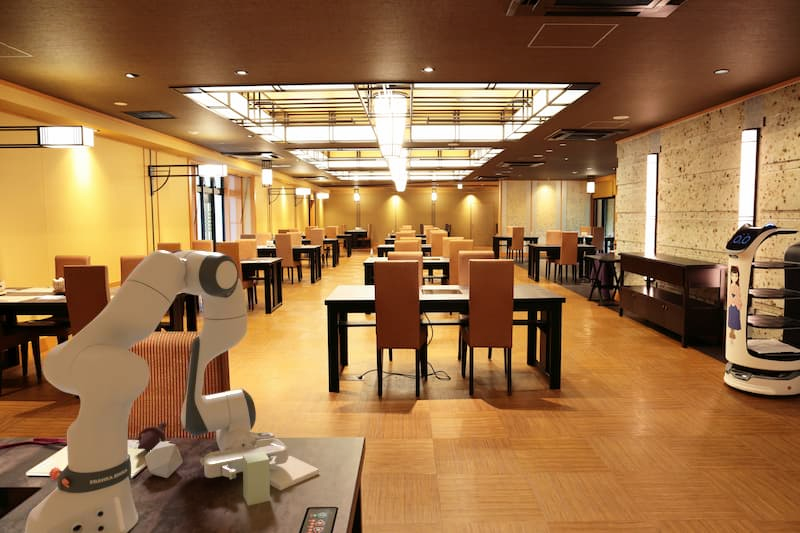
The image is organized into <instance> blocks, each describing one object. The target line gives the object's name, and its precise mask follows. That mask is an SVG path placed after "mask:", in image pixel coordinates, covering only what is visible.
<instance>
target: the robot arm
mask: <svg viewBox="0 0 800 533" xmlns="http://www.w3.org/2000/svg"><path fill="white" fill-rule="evenodd" d="M179 293H185V294H189V295H193V296H200V297H201V299H202V305H203V306H202V308H203V309H202V311H203V312H202V313H203V315H202V316H203V324H202V328H201V330H200V332H199V334H198V335H197V336H196V337H194V338H193V340H192V342H191V345H190V349H189V354H188V355H189V356H188V361H187V362H188V364H187V373H186V382H185V390H184V391H185V392H184V398H183V403H182V408H181V412H180V421H181V422H180V423H181V425H182V429H183V431H184V432H186V433H187V434H189V435H191V436H194V437H201V436H203V435H206V434H209V433H211V432H215V439H216V443H217V447H218V448H219V450H216V451H212V452H209V453H207V454H205V455H204V457H201V458H200V459H199V462H200V465H201V466H203V468H204V475H205V478H208V479H213V478H217V477H219V478H220V477H222V476H223V477H226V478H229V479H228V480H232V479H233V480H234V479H237V474H238V473H243V455H246V454H251V453H256V452H262V451H264V452H265V453H266V455H267V456H268V458H269V465H270V471H273V470H276V465H278V464H283V463H286V462H287V461H288V456H289V450H288V446H287V445H285V443H284V442H283V441H282V440H280V439H279V438H275V436H276V435H275V434H274V433H272V432H252V429H253V428H254V426H255V424H256V421H257V420H256V419H257V418H256V417H257V413H256V405H255V402H254V400H253V398H252V396H251V395H250V394H249V393H248V391H246V390H245V389H243V388H238V389H230V390H227V391H226V390H225V391H223V392H217V393H212V394H206V395H203V389H204V388H203V387H204V381H205V380H204V379H205V370H206V367H207V365H208V364H209V363H210V362H211V361H212V360H214V358H216V357H218V356H220V355H221V354H223V353H225V352H227V351H229V350H230V349H232V348H234V347H236V346H237V345H238V344H240V342H241V341H242V340H243V339H244V337H245V336H246V334H247V331H248V310H247V300H246V295H245V292H244V287H243V283H242V281H241V278H240V273H239V268H238V265H237V263H236V261H235V260H234V259H233V258H232V257H231V256H230V255H228V254H225V253H222V252H211V251H204V250H201V249H200V250H199V249H198V250H197V249H191V250H189V249H188V250H182V249H181V250H180V249H178V250H174V251H168V250H162V249H158V250H155V251H152V252H151V253H149V254H148V255H147V256H146V257H144V258H143V259H142V260H141V261H140V262H139V263H138V264H137V265H136V266H135V268H133V270H132V271H131V272H130V273H129V275H128V276H127V277H126V279H125V280H124V282H122V284H121V286H120V287H119V288H118V290H117V291H116V292H115V294H114V295H113V297H112V298H111V300H109V302H108V303H107V304H106V306H105V307H104V308H103V310H101V312H100V313H99V314H98V315H96V317H95V318H93V320H91V321H90V322H89V323H88V324H87V325H85V326H84V327H83V328H82V329H81V330H80V331H78V332H77V333H76V334H75V335H74V336H72V337H71V338H69V339H68V340H66V341H64V342H62V343H60V344H58V345H55V346H54V347H53V348H51V349H50V350H48V351H49V352H47V354H46V355H45V357H44V359H43V363H42V374H43V376H44V378H45V380H46V381H47V382H48V383H50V384H51V385H52V386H53V387H54V388H56V389H58V390H59V391H61V392H63V393H67V394H72V395H75V396H79V399H80V404H79V406H80V407H79V411H78V415H77V417H76V419H75V420H74V421H72V422H71V423H70V425H69V427H67V431H66V442H67V443H66V447H67V449H66V450H67V465H66V467H65V468H64V469H63V470H61V468H58V467H54V468H51V470H50V471H49V474H48V475H49V477H50V478H51V479H52V480H53V481H57V486H56V487H55V489H54V490H52V491H51V492H50V493H49V494H48V495H47V496H46V497H45V498H44V499H43V500H41V502H39V503H38V504H37V505H36V506H35V507H33V509H31V511H30V512H29V514H28V516H27V519H26V521H25V522H26V523H25V530H24V532H23V533H128V532H129V531H130V530H131V529H132V528H134V527H135V526H136V524H137V523H138V522H139V513H138V511H137V508H136V507H135V506H136V505H135V503H134V500H133V499H134V498H133V494H132V493H133V492H132V489H131V488H132V487H131V482H130V481H131V479H132V462H131V455H130V454H129V452H128V451H129V445H128V444H129V443H128V441H129V440H128V439H129V438H128V437H129V436H128V435H129V434H128V431H129V430H128V429H129V428H128V427H129V418H130V413H131V410H132V408H133V405H134V402H135V401H136V400H137V398H139V397H140V396H141V395H142V394H143V393H144V391H145V390H146V388H147V386H148V384H149V381H150V376H151V372H150V366H149V364H148V362H147V361H146V359H144V357H142V356H140V355H138V354H136V353H135V352H133V351H131V350H130V349H131V348H132V347H134V346H135V345H137V344H138V343H140V342H142V341H144V340H146V339H148V338H149V337H150V336H152V335H153V333H154V332H155V330H156V329H157V328H158V326H159V325H160V323H161V321H162V319H163V318H164V316H165V315H166V313H167V311H168V310H169V308H170V307H171V305H172V304H173V302H174V301H175V299H176V298H177V295H178V294H179Z"/></svg>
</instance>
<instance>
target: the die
mask: <svg viewBox="0 0 800 533" xmlns="http://www.w3.org/2000/svg"><path fill="white" fill-rule="evenodd" d="M181 455H182V454H181V453H180V450H179V449H178V446H177V445H176V444H175V443H170V442H167V441H164V442H162V441H160V442H159V443H158V444H157V445H156V446H155V447H154V448H153V449H152V450H151V451H150V452H147V454H146V455H145V456H144V460H145V462H146V466H147V469H148V471H149V472H150V474H151V475H153V476H157V477H159V478H160V477H161V478H164V479H165V478H166V479H168V478H169V477H170V476H171V475H172V474H173V473H174V472H175V471H176V470H177V469H178V468H179V467H180V466H181V465H182V464H183V463H184V461H183V458H182V456H181Z"/></svg>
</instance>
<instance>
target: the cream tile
mask: <svg viewBox="0 0 800 533" xmlns="http://www.w3.org/2000/svg"><path fill="white" fill-rule="evenodd" d="M319 474H320V469H319V468H317V467H315V466H313V465H311V464H308V463H307V462H305V461H302V460H301V459H298V458H296V457H294V456H293V455H288V461H287V462H286V463H283V464H278V465H276V470H273V471H270V487H271V486H272V487H274V488H275V489H277V490H279V491H282V490H285V489H286V488H289V487H292V486H294V485H296V484H298V483H300V482H303V481H306V480H307V479H310V478H312V477H314V476H317V475H319Z"/></svg>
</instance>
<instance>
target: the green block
mask: <svg viewBox="0 0 800 533" xmlns="http://www.w3.org/2000/svg"><path fill="white" fill-rule="evenodd" d="M270 488H271V485H270V465H269V458H268V456H267V455H266V453H265V452H264V451H262V452H256V453H251V454H246V455H243V472H242V493H243V494H242V495H243V498H244V501H245V502H246V505H247V507H250V506H253V505H257V504H262V503H266V502H270V500H271V499H270V497H271V495H270V494H271V493H270V492H271V490H270Z"/></svg>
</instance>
